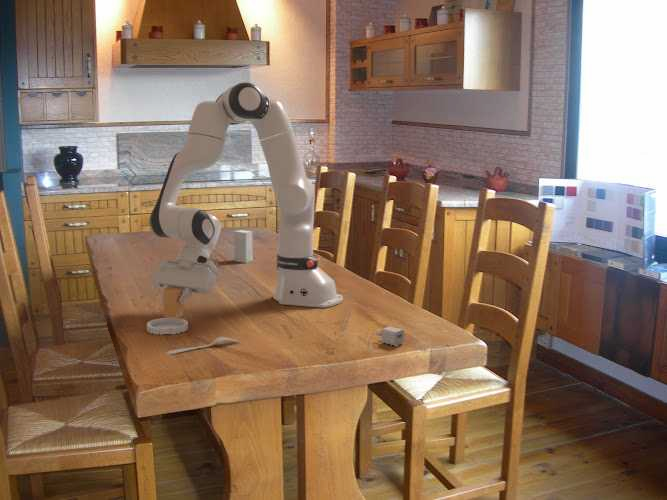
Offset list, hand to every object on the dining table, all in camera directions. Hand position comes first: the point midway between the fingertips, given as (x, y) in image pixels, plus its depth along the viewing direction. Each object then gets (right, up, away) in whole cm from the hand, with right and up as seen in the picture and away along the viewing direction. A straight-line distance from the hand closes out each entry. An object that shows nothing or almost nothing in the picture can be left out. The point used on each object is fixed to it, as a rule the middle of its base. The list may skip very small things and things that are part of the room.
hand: (172, 301), depth 226 cm
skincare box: (+12, +10, +77) cm, 79 cm away
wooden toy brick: (0, -4, +1) cm, 5 cm away
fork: (+14, -11, -26) cm, 31 cm away
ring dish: (+1, -7, -11) cm, 13 cm away
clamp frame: (-5, +8, +61) cm, 62 cm away
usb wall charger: (+62, -10, -20) cm, 66 cm away
